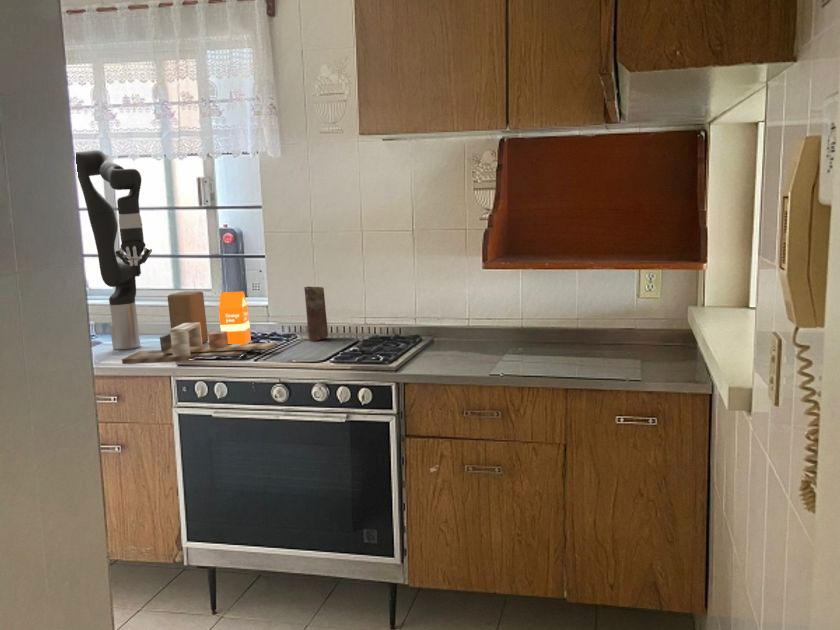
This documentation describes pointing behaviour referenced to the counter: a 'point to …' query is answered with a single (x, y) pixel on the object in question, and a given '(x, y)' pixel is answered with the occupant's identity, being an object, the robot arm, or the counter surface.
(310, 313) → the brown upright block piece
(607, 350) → the counter surface
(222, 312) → the orange juice
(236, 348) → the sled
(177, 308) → the wooden block
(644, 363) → the counter surface
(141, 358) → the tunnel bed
